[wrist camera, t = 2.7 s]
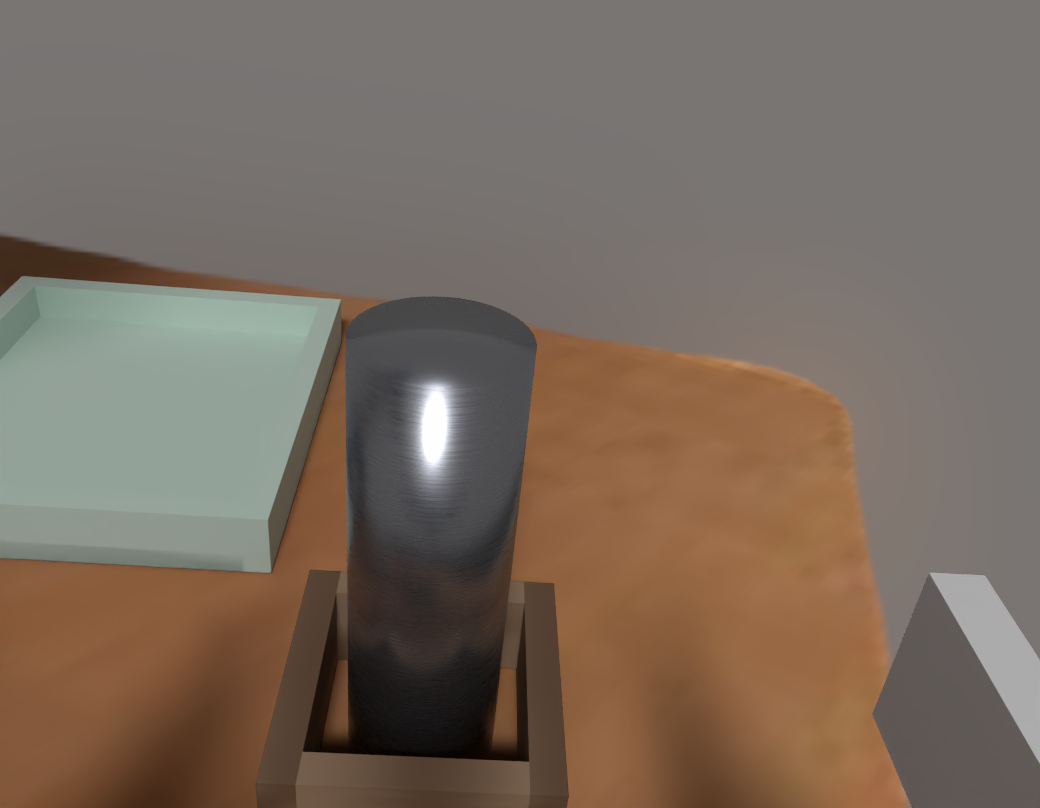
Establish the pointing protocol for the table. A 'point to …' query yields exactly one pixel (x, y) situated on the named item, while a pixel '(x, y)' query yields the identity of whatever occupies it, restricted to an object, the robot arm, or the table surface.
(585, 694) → the table surface
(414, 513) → the pin
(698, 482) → the table surface
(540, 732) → the pin socket
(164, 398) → the tray
